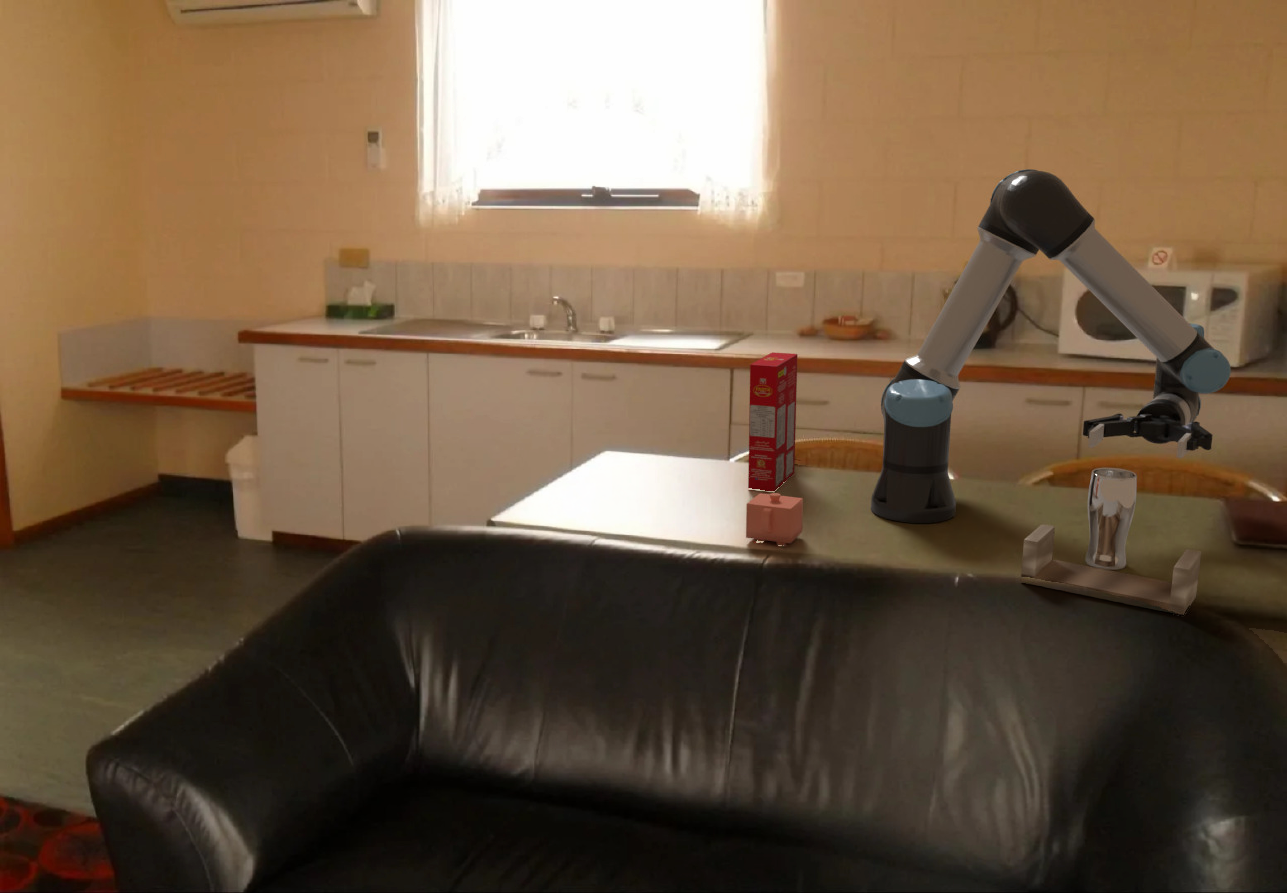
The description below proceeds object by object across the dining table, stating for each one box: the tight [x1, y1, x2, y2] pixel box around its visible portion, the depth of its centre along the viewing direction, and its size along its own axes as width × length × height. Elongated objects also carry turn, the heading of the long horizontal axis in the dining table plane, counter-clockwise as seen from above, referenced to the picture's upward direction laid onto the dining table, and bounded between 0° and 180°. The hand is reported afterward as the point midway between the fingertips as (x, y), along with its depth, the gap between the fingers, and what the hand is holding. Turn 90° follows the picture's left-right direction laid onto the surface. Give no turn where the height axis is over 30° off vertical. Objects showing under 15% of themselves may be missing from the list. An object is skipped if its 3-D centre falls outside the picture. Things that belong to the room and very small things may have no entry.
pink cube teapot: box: [745, 492, 804, 546], centre depth 193 cm, size 8×12×8 cm, turn 155°
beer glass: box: [1084, 467, 1138, 571], centre depth 180 cm, size 7×7×15 cm
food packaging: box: [747, 352, 798, 491], centre depth 225 cm, size 15×5×25 cm, turn 157°
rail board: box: [1020, 523, 1202, 616], centre depth 170 cm, size 23×9×7 cm, turn 55°
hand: (1134, 444), depth 185 cm, fingers open, 13 cm apart
